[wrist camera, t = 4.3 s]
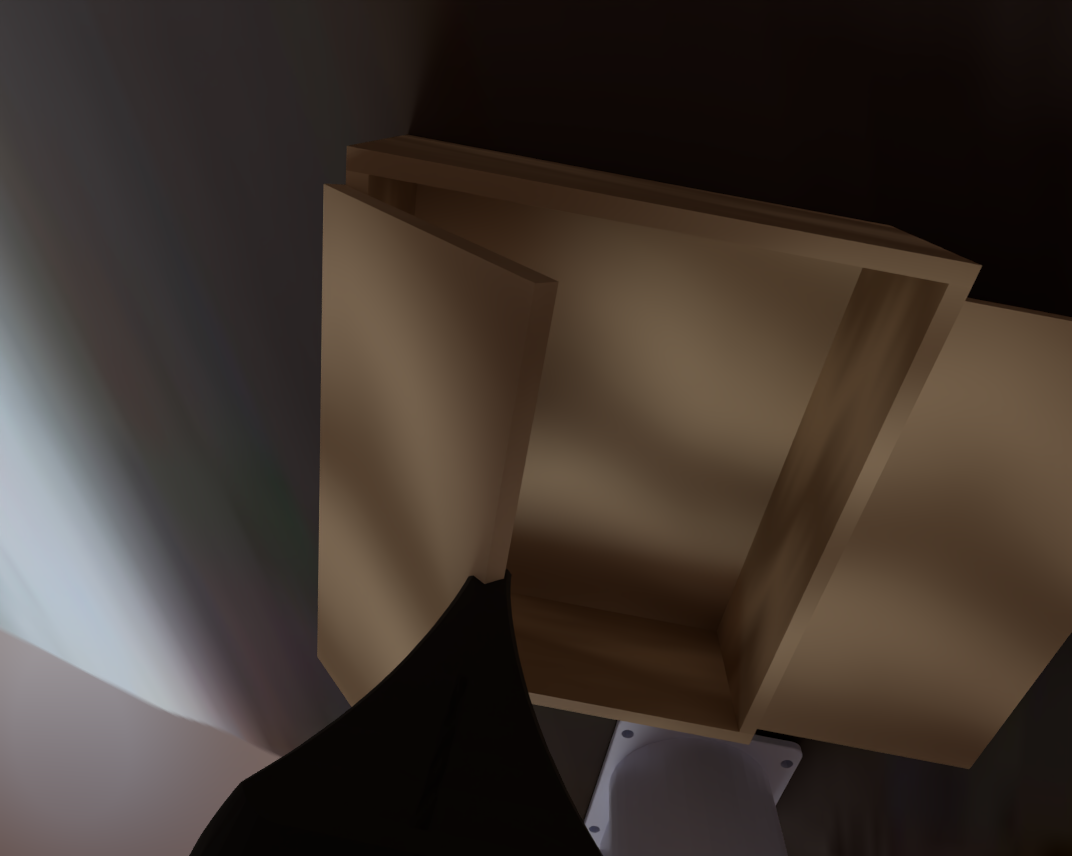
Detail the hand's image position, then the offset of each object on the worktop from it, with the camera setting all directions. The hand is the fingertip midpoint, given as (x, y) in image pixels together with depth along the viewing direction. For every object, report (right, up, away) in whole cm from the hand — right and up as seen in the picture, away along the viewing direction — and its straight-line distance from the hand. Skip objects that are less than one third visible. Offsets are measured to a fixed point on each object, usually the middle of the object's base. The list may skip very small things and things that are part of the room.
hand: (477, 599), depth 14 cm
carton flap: (-2, +1, +2) cm, 3 cm away
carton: (+7, +3, +8) cm, 11 cm away
